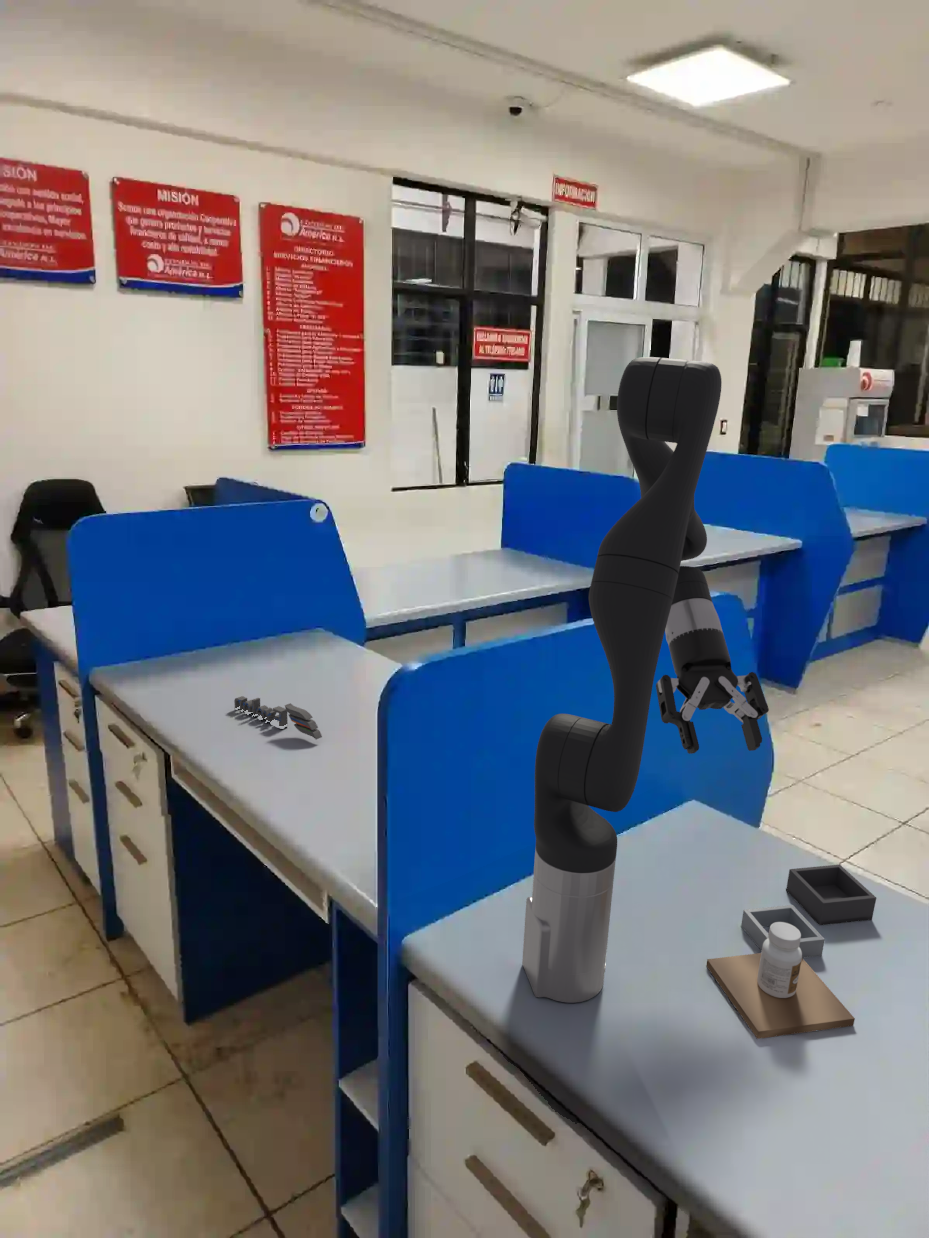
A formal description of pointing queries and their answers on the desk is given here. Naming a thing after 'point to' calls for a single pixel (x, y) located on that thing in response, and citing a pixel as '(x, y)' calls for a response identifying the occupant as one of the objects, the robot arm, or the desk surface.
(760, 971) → the pill bottle
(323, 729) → the desk surface
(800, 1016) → the walnut pad
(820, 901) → the box
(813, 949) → the sleeve
